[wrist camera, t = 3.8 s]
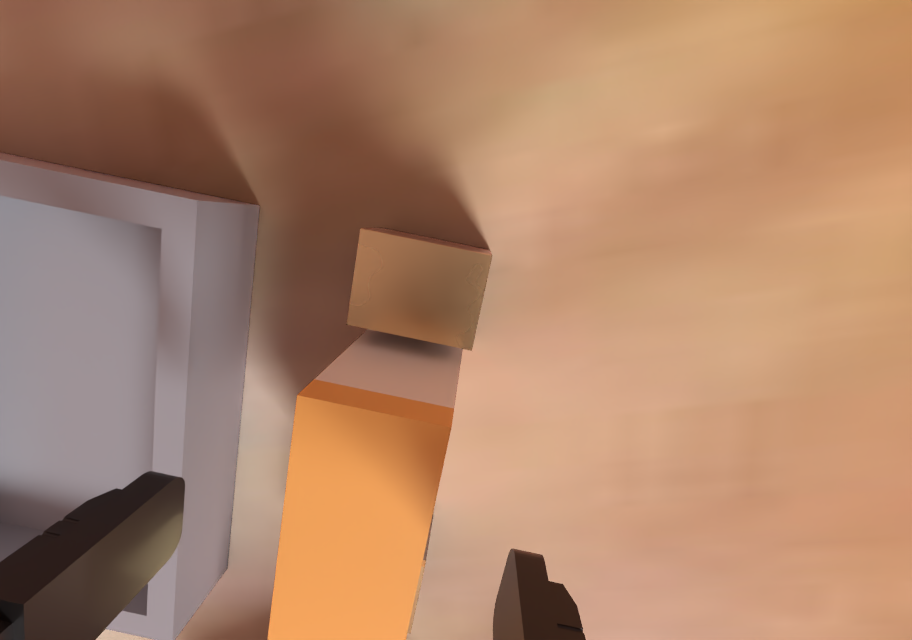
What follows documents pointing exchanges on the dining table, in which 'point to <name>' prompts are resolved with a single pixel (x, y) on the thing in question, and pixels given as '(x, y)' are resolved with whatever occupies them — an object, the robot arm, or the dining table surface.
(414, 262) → the small blocks
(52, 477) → the tray
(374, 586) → the orange-topped block
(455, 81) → the dining table surface
